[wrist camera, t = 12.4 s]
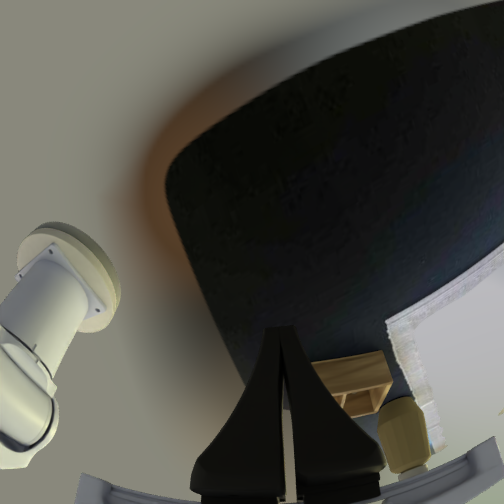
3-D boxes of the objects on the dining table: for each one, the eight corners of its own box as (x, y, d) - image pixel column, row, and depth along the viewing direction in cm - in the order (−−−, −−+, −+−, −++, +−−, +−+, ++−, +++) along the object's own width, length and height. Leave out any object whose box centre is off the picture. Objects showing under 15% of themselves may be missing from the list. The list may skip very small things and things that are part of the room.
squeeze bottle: (375, 419, 39) (392, 506, 24) (369, 405, 35) (390, 508, 20) (417, 402, 37) (440, 488, 22) (417, 385, 33) (447, 485, 18)
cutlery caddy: (294, 364, 28) (298, 398, 24) (382, 349, 27) (393, 381, 24) (296, 397, 32) (298, 426, 29) (370, 385, 32) (377, 412, 28)
